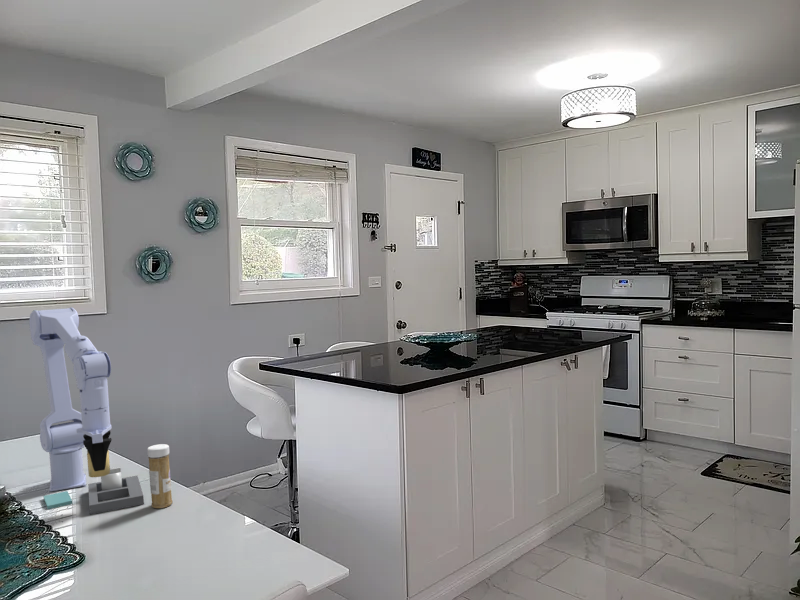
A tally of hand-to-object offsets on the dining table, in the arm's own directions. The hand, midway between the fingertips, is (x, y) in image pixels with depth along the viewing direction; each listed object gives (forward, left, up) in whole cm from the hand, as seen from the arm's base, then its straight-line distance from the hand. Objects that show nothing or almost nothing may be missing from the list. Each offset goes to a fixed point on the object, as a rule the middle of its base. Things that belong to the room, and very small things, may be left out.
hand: (99, 467), depth 144 cm
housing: (-4, +3, -9) cm, 10 cm away
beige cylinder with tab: (0, 0, -2) cm, 2 cm away
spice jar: (+7, +12, -9) cm, 17 cm away
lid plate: (-9, -9, -9) cm, 15 cm away
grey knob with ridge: (-8, +2, -9) cm, 12 cm away
